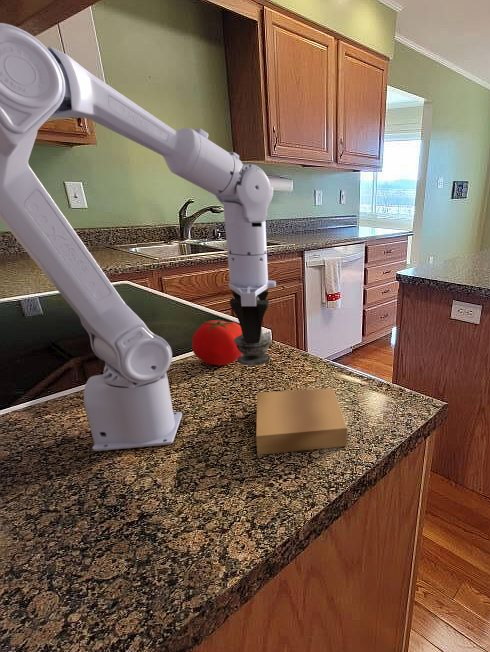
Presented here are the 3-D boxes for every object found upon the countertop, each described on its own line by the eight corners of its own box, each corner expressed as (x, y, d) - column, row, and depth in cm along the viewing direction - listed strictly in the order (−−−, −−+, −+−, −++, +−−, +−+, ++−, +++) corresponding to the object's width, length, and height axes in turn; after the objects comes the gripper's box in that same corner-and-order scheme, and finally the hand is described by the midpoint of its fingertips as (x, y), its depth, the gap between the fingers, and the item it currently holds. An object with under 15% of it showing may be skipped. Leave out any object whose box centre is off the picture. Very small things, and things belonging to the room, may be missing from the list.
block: (257, 455, 52) (256, 436, 51) (258, 409, 63) (257, 392, 62) (346, 446, 55) (347, 427, 54) (332, 403, 66) (333, 387, 64)
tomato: (188, 358, 79) (183, 318, 76) (238, 348, 85) (235, 311, 82) (203, 375, 72) (197, 332, 69) (256, 364, 78) (253, 323, 75)
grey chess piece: (262, 368, 63) (258, 294, 58) (228, 363, 64) (222, 290, 59) (277, 355, 68) (275, 286, 64) (246, 351, 69) (241, 283, 65)
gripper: (276, 261, 54) (279, 353, 59) (273, 246, 67) (275, 323, 72) (221, 260, 52) (230, 355, 58) (229, 245, 65) (235, 324, 70)
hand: (252, 337), depth 65 cm, fingers closed on grey chess piece, 4 cm apart
